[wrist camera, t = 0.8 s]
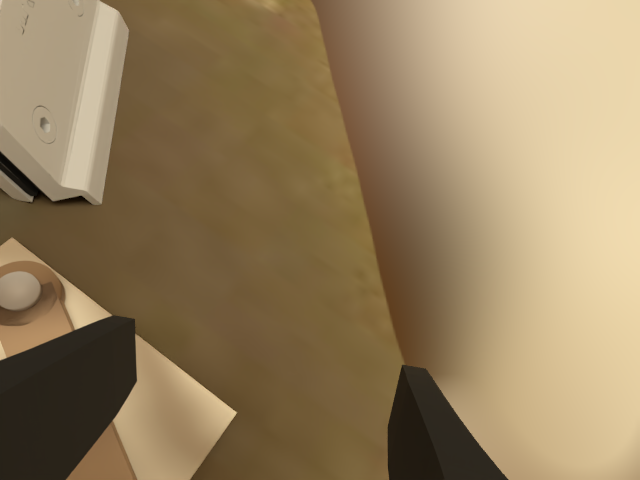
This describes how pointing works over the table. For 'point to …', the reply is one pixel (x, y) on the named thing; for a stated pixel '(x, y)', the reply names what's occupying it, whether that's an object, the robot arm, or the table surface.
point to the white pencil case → (58, 96)
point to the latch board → (150, 398)
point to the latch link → (42, 326)
